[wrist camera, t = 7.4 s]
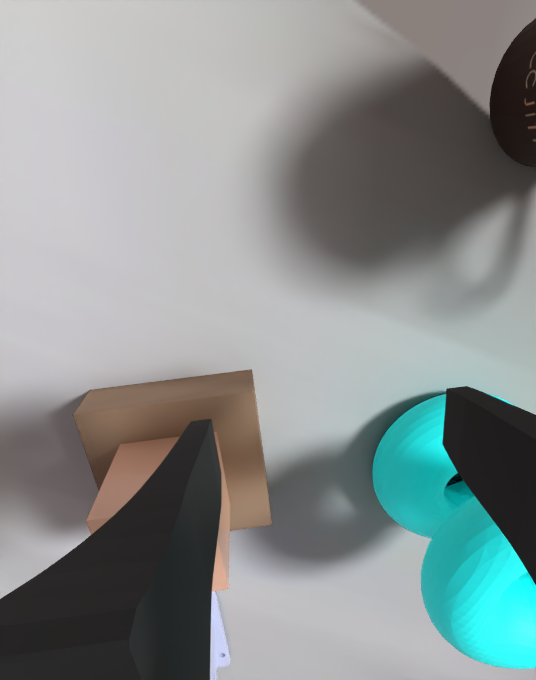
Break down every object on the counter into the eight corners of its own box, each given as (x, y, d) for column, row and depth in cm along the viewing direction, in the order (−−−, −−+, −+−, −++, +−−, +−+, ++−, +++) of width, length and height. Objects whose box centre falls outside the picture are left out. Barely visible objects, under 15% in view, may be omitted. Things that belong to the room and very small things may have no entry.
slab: (268, 488, 26) (271, 524, 23) (130, 506, 26) (118, 546, 23) (251, 365, 23) (253, 391, 20) (92, 385, 22) (72, 414, 20)
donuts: (739, 546, 15) (582, 696, 19) (551, 408, 25) (468, 525, 28) (531, 487, 14) (397, 666, 17) (412, 362, 23) (340, 493, 26)
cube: (230, 505, 23) (228, 589, 18) (141, 517, 22) (116, 605, 18) (216, 431, 21) (211, 503, 16) (120, 444, 21) (85, 520, 16)
